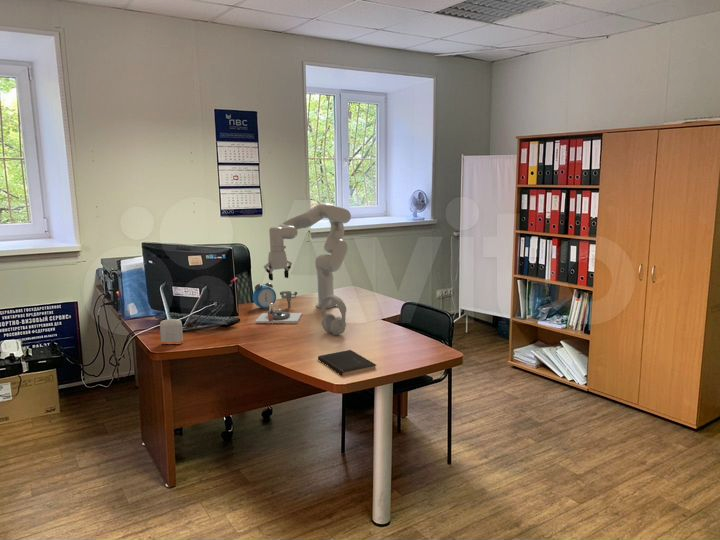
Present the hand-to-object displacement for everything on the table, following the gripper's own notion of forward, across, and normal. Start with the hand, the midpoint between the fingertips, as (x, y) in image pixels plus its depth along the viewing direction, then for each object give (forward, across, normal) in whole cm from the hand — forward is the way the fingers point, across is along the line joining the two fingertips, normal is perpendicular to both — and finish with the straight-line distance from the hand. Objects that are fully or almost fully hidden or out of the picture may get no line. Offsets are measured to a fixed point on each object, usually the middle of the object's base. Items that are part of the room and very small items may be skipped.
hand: (278, 278), depth 313 cm
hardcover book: (+22, +18, +92) cm, 96 cm away
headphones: (+21, -2, +52) cm, 56 cm away
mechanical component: (+22, -12, -12) cm, 27 cm away
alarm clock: (+21, -1, -22) cm, 31 cm away
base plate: (+21, +5, +8) cm, 23 cm away
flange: (+19, +6, +7) cm, 21 cm away
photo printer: (+21, +67, +15) cm, 71 cm away
